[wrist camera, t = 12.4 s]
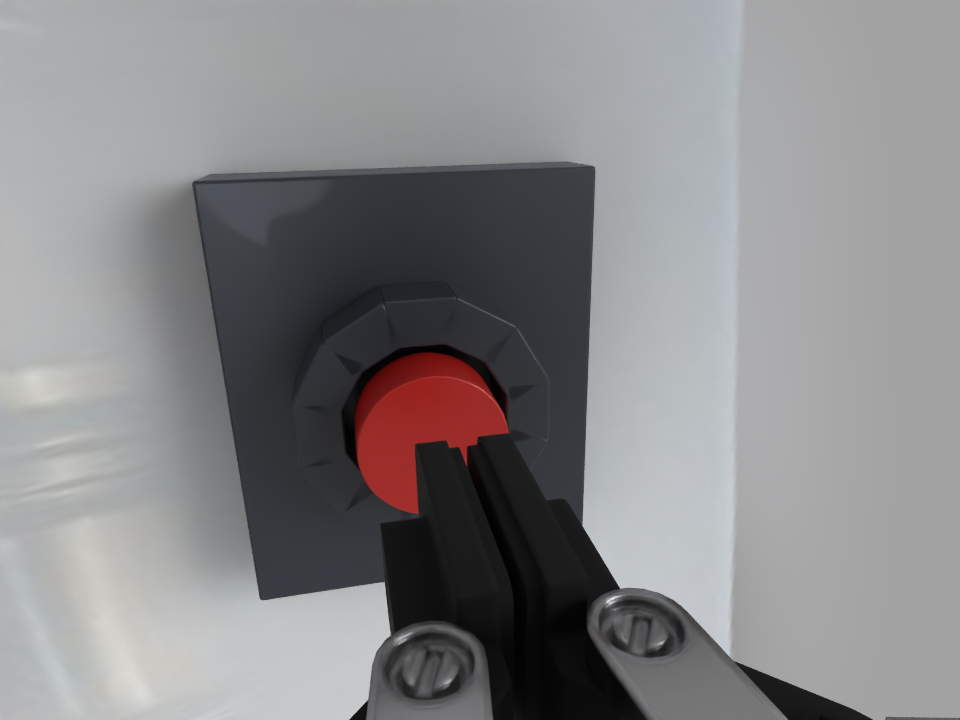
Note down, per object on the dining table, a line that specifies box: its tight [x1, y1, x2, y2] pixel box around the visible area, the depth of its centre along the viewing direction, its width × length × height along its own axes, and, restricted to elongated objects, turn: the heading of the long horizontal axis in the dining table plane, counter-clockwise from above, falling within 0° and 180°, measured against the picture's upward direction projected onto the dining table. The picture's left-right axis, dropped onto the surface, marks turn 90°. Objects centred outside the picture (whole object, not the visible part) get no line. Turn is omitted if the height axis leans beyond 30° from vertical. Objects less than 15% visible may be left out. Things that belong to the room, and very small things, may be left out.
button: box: [354, 352, 508, 514], centre depth 16 cm, size 4×4×2 cm
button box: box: [192, 162, 595, 600], centre depth 19 cm, size 12×10×4 cm
